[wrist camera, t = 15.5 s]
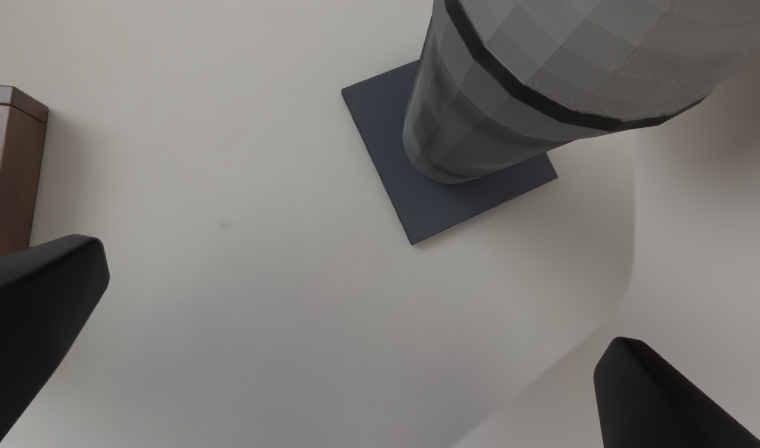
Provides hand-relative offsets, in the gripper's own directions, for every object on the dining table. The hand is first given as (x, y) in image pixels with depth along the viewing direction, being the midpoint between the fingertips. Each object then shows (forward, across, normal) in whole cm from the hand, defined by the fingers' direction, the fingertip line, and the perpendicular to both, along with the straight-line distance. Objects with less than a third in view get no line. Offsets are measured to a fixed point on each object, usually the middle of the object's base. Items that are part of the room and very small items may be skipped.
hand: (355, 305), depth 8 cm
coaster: (+15, -3, +2) cm, 15 cm away
